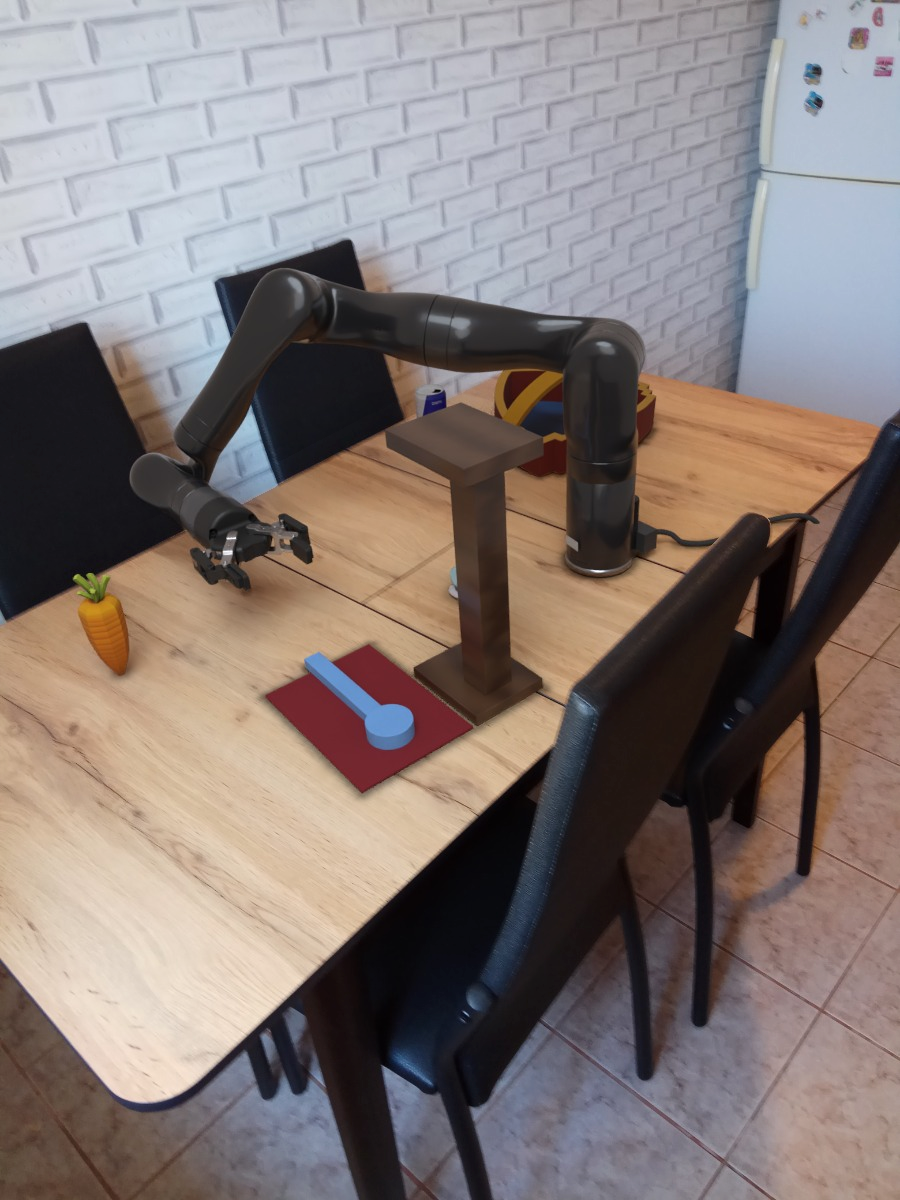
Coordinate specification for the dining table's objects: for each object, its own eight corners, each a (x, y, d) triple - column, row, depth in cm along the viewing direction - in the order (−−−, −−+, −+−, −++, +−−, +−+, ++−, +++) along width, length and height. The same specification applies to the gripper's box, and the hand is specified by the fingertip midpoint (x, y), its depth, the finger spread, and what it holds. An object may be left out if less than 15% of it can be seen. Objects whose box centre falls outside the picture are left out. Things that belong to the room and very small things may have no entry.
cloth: (369, 645, 118) (369, 643, 118) (473, 728, 104) (473, 726, 104) (265, 697, 111) (264, 695, 111) (361, 793, 97) (361, 791, 96)
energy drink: (446, 461, 162) (441, 395, 155) (416, 460, 163) (410, 394, 156) (452, 448, 166) (448, 383, 159) (423, 447, 167) (418, 383, 160)
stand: (475, 641, 117) (460, 402, 100) (545, 690, 109) (543, 436, 91) (411, 674, 113) (384, 429, 95) (479, 728, 104) (463, 469, 86)
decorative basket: (556, 504, 151) (568, 422, 141) (437, 432, 167) (440, 354, 157) (682, 440, 169) (700, 363, 159) (564, 381, 185) (574, 308, 175)
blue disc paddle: (331, 655, 116) (329, 642, 115) (424, 734, 103) (423, 721, 102) (294, 673, 114) (291, 660, 113) (384, 757, 101) (382, 743, 99)
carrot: (149, 665, 118) (118, 564, 109) (126, 689, 114) (92, 587, 105) (117, 659, 119) (84, 559, 111) (92, 683, 115) (56, 581, 107)
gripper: (162, 516, 117) (219, 565, 106) (261, 479, 124) (325, 522, 113) (175, 566, 121) (232, 618, 110) (271, 528, 128) (333, 574, 117)
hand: (279, 570), depth 112 cm, fingers open, 8 cm apart
